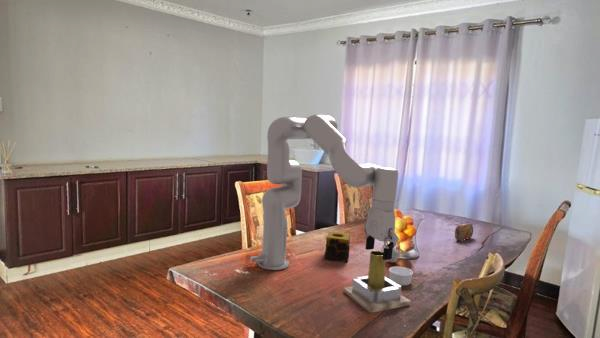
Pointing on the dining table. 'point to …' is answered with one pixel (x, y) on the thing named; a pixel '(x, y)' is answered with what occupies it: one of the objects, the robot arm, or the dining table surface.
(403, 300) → the stand board
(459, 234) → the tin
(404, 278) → the ramekin
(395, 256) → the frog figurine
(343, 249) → the dark olive cube holder
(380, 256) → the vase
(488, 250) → the dining table surface
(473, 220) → the dining table surface
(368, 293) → the collar
